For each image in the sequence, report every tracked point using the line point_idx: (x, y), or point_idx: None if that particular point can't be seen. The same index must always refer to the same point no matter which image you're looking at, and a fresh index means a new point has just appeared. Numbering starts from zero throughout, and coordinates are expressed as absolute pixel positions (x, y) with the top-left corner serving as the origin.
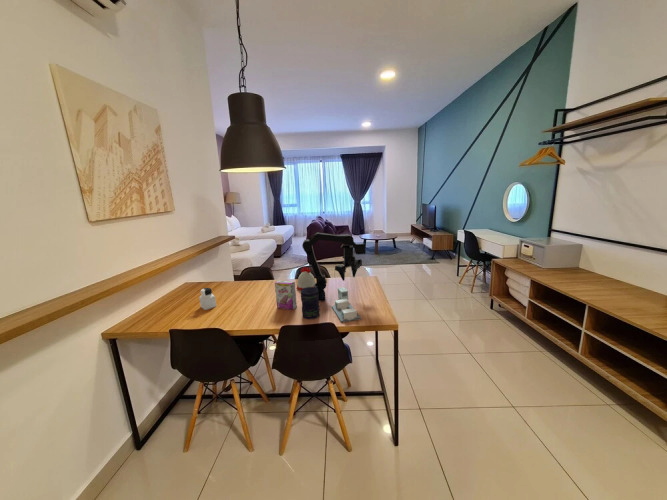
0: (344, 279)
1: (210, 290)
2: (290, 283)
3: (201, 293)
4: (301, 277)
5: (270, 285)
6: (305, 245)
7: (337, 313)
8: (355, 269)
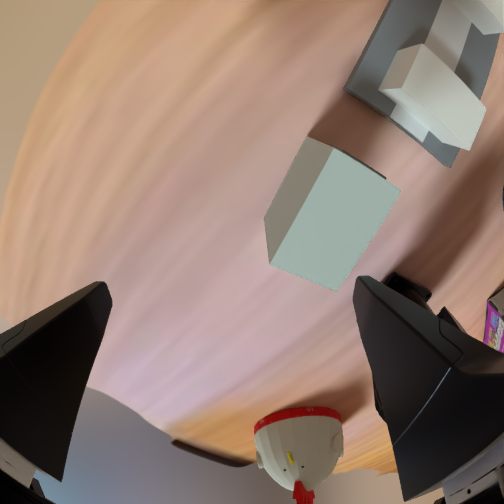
0: (366, 283)
1: None
2: None
3: None
4: (334, 466)
5: (358, 455)
6: None
7: (485, 70)
8: (5, 370)
